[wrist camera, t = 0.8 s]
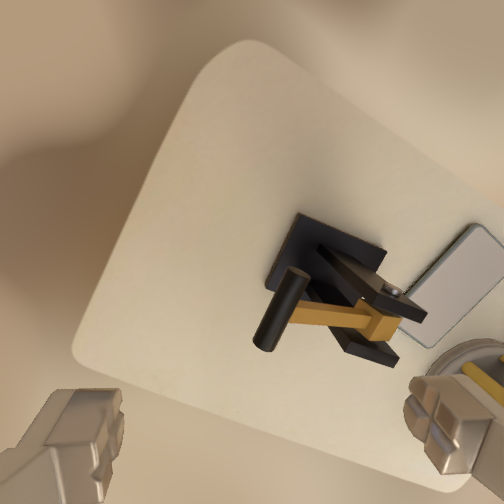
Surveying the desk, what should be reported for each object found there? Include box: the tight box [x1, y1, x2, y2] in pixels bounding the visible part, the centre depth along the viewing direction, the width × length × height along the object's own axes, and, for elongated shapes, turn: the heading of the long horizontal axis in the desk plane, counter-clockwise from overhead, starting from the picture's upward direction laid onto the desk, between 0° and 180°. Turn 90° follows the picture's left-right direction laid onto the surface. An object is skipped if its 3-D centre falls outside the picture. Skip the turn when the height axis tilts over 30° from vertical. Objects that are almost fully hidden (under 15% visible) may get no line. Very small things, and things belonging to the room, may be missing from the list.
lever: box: [253, 266, 403, 352], centre depth 21 cm, size 12×5×2 cm, turn 65°
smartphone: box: [398, 224, 504, 348], centre depth 37 cm, size 8×1×15 cm
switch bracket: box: [265, 213, 428, 368], centre depth 29 cm, size 11×9×14 cm
